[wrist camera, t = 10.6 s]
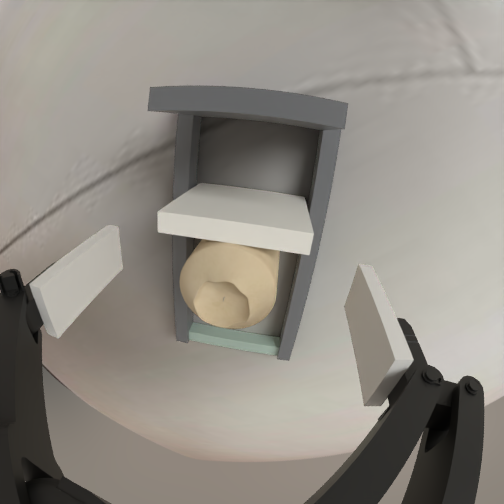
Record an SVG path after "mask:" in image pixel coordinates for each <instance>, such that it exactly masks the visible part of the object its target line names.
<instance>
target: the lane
mask: <svg viewBox="0 0 504 504" xmlns="http://www.w3.org/2000/svg"><path fill="white" fill-rule="evenodd" d="M347 108H348V103H344V102H339V101H335V100H330V99H325V98H320V97H314V96H309V95H303V94H296V93H289V92H282V91H274V90H265V89H255V88H243V87H226V86H163V87H150V93H149V102H148V111H156V112H167V113H176V114H178V120H177V131H176V145H175V160H174V181H173V201H174V200H175V199H176V198H178V197H179V196H181V195H182V194H184V193H185V192H187V191H189V190H190V189H192V188H193V187H195V186H196V180H197V166H198V153H199V141H200V130H201V120H202V117H217V118H231V119H243V120H253V121H262V122H270V123H278V124H285V125H292V126H298V127H304V128H310V129H316V130H320V134H319V141H318V147H317V154H316V160H315V166H314V173H313V179H312V184H311V190H310V196H309V202H308V207H307V208H308V212H309V216H310V220H311V224H312V228H313V232H314V236H313V241H312V245H311V250H310V255H304V254H298V259H297V264H296V269H295V273H294V278H293V283H292V287H291V292H290V296H289V301H288V305H287V310H286V314H285V318H284V323H283V327H282V331H281V335H280V337H275V336H268V335H261V334H255V333H249V332H243V331H237V330H231V329H226V328H220V327H215V326H210V325H205V324H200V323H195V322H193V311H192V310H191V309H190V308H189V307H188V305H187V304H186V302H185V300H184V299H183V296H182V293H181V290H180V274H181V270H182V268H183V266H184V264H185V262H186V261H187V259H188V258H189V257H190V255H191V254H192V252H193V247H194V238H193V237H186V236H179V235H172V252H173V289H174V310H175V325H176V339H177V341H181V342H185V343H188V342H189V340H192V341H197V342H201V343H206V344H211V345H216V346H221V347H227V348H232V349H238V350H244V351H250V352H256V353H263V354H270V355H277V359H280V360H288V361H289V359H290V356H291V352H292V349H293V346H294V342H295V339H296V335H297V332H298V328H299V325H300V321H301V318H302V314H303V310H304V306H305V303H306V299H307V295H308V291H309V287H310V283H311V279H312V275H313V271H314V267H315V263H316V259H317V254H318V250H319V246H320V241H321V237H322V232H323V227H324V223H325V218H326V213H327V208H328V203H329V198H330V193H331V187H332V182H333V177H334V171H335V165H336V159H337V153H338V147H339V141H340V134H341V129H345V123H346V116H347Z"/></svg>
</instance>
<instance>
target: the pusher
mask: <svg viewBox="0 0 504 504" xmlns="http://www.w3.org/2000/svg"><path fill="white" fill-rule="evenodd" d="M158 232H159V233H166V234H172V235H179V236H186V237H193V238H199V239H206V240H213V241H219V242H226V243H232V244H239V245H246V246H252V247H259V248H265V249H272V250H278V251H285V252H291V253H298V254H304V255H310V250H311V245H312V241H313V236H314V232H313V228H312V224H311V220H310V216H309V212H308V208H307V205H306V201H305V197H302V196H296V195H290V194H284V193H277V192H270V191H263V190H256V189H249V188H241V187H233V186H225V185H216V184H207V183H199V184H198V185H196V186H195V187H193V188H192V189H190V190H189V191H187V192H185V193H184V194H182V195H181V196H179V197H178V198H176V199H175V200H174V201H172V202H171V203H169V204H168V205H166V206H165V207H163V208H162V209H160V210H159V211H158Z"/></svg>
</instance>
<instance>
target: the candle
mask: <svg viewBox="0 0 504 504" xmlns="http://www.w3.org/2000/svg"><path fill="white" fill-rule="evenodd" d="M279 253H280V251H278V250H272V249H265V248H259V247H252V246H246V245H239V244H232V243H226V242H219V241H213V240H206V239H202V240H201V241H200V243H199V244H198V245H197V247H196V248H195V250H194V251H193V252H192V254H191V255H190V257H189V258H188V259H187V261H186V262H185V264H184V266H183V268H182V270H181V274H180V290H181V293H182V296H183V299H184V300H185V302H186V304H187V305H188V307H189V308H190V309H191V310H192V311H193V312H194V313H195V314H196V315H197V316H198V317H199V318H200V319H202V320H203V321H204V322H206V323H209V324H211V325H214V326H217V327H221V328H227V329H241V328H246V327H250V326H252V325H255V324H257V323H259V322H260V321H262V320H263V319H264V318H265V317H266V316H267V315H268V314H269V313H270V311H271V310H272V308H273V306H274V304H275V300H276V294H277V281H278V268H279Z"/></svg>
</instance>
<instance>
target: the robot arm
mask: <svg viewBox="0 0 504 504" xmlns="http://www.w3.org/2000/svg"><path fill="white" fill-rule="evenodd" d="M122 269H123V264H122V255H121V246H120V236H119V226H113V225H107V226H106V227H104V228H103V229H101V230H100V231H98V232H97V233H95V234H94V235H93V236H91V237H90V238H88V239H87V240H85V241H84V242H83V243H81V244H80V245H79V246H77V247H76V248H74V249H73V250H72V251H70V252H69V253H68V254H66V255H65V256H64V257H62V258H61V259H60V260H58V261H57V262H55V263H53V264H52V265H50V266H49V267H48V268H46V270H44V271H43V272H41V274H39V275H38V276H36V277H35V278H34V279H33V280H32V281H30V282H29V283H28V284H27V285H26V286H24V285H23V282H22V278H21V275H20V272H19V271H18V270H16V269H10V270H7V271H5V272H3V273H1V274H0V290H1V293H0V504H111V503H109V502H107V501H105V500H104V499H102V498H100V497H98V496H97V495H95V494H93V493H92V492H90V491H88V490H86V489H84V488H83V487H81V486H79V485H77V484H76V483H74V482H72V481H70V480H69V479H67V478H65V477H64V475H63V473H62V471H61V469H60V467H59V466H58V464H57V463H56V461H55V458H54V455H53V450H52V446H51V441H50V435H49V430H48V424H47V417H46V409H45V400H44V389H43V376H42V333H41V330H40V327H41V326H42V325H43V324H44V326H45V329H46V331H47V333H48V334H49V335H51V336H53V337H55V338H58V339H59V338H60V336H61V335H62V334H63V333H64V332H65V331H66V329H67V328H68V327H69V326H70V325H71V324H72V323H73V321H74V320H75V319H76V318H77V317H78V316H79V315H80V314H81V312H82V311H83V310H84V309H85V308H86V307H87V306H88V305H89V304H90V303H91V302H92V300H93V299H94V298H95V297H96V296H97V295H98V294H99V293H100V292H101V291H102V290H103V289H104V288H105V287H106V286H107V285H108V284H109V282H110V281H111V280H112V279H113V278H114V277H115V276H116V275H117V274H118V273H119V272H120V271H121V270H122ZM344 307H345V311H346V316H347V320H348V324H349V329H350V333H351V338H352V343H353V348H354V352H355V357H356V363H357V368H358V373H359V379H360V384H361V390H362V396H363V403H364V406H381V405H382V404H383V403H384V401H385V400H386V399H387V398H388V401H389V407H388V408H387V409H386V410H385V411H384V413H383V414H382V415H381V416H380V417H379V418H378V422H377V423H376V424H375V426H374V427H373V428H372V430H371V431H370V432H369V434H368V435H367V436H366V437H365V439H364V440H363V441H362V442H361V444H360V445H359V446H358V447H357V449H356V450H355V451H354V452H353V453H352V455H351V456H350V457H349V458H348V459H347V460H346V462H345V463H344V464H343V465H342V466H341V467H340V468H339V469H338V470H337V472H336V473H335V474H334V475H333V476H332V477H331V478H330V479H329V480H328V481H327V482H326V483H325V484H324V485H323V486H322V487H321V488H320V489H319V490H318V491H317V492H316V493H315V494H314V495H313V496H312V497H311V498H309V499H308V500H307V501H306V502H305V503H304V504H378V502H379V501H380V500H381V498H382V497H383V496H384V494H385V493H386V492H387V490H388V489H389V487H390V486H391V484H392V483H393V481H394V480H395V479H396V477H397V475H398V474H399V472H400V471H401V469H402V468H403V466H404V464H405V463H406V461H407V459H408V458H409V456H410V454H411V453H412V451H413V449H414V447H415V446H416V444H417V442H418V440H419V438H420V436H421V434H422V432H423V435H422V439H421V443H420V448H419V451H418V455H417V459H416V462H415V466H414V469H413V472H412V475H411V478H410V482H409V484H408V487H407V490H406V493H405V496H404V498H403V501H402V504H474V503H475V498H476V493H477V488H478V482H479V476H480V469H481V461H482V451H483V437H484V391H483V387H482V385H481V384H480V382H479V381H478V380H477V379H475V378H474V377H472V376H464V377H463V378H462V379H461V380H460V381H459V382H458V384H457V383H453V382H449V381H445V380H444V379H443V376H442V374H441V373H440V371H439V370H437V369H436V368H435V367H433V366H430V365H428V364H427V361H426V359H425V357H424V354H423V352H422V350H421V347H420V345H419V343H418V340H417V338H416V336H415V334H414V331H413V329H412V327H411V326H410V325H409V323H408V322H407V321H406V320H405V319H401V318H396V315H395V313H394V311H393V309H392V306H391V304H390V302H389V300H388V298H387V295H386V293H385V291H384V289H383V287H382V285H381V283H380V281H379V279H378V277H377V275H376V273H375V271H374V269H373V267H372V266H371V265H365V264H358V268H357V271H356V274H355V277H354V280H353V283H352V286H351V289H350V292H349V295H348V298H347V301H346V303H345V306H344ZM25 481H26V482H25Z"/></svg>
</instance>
